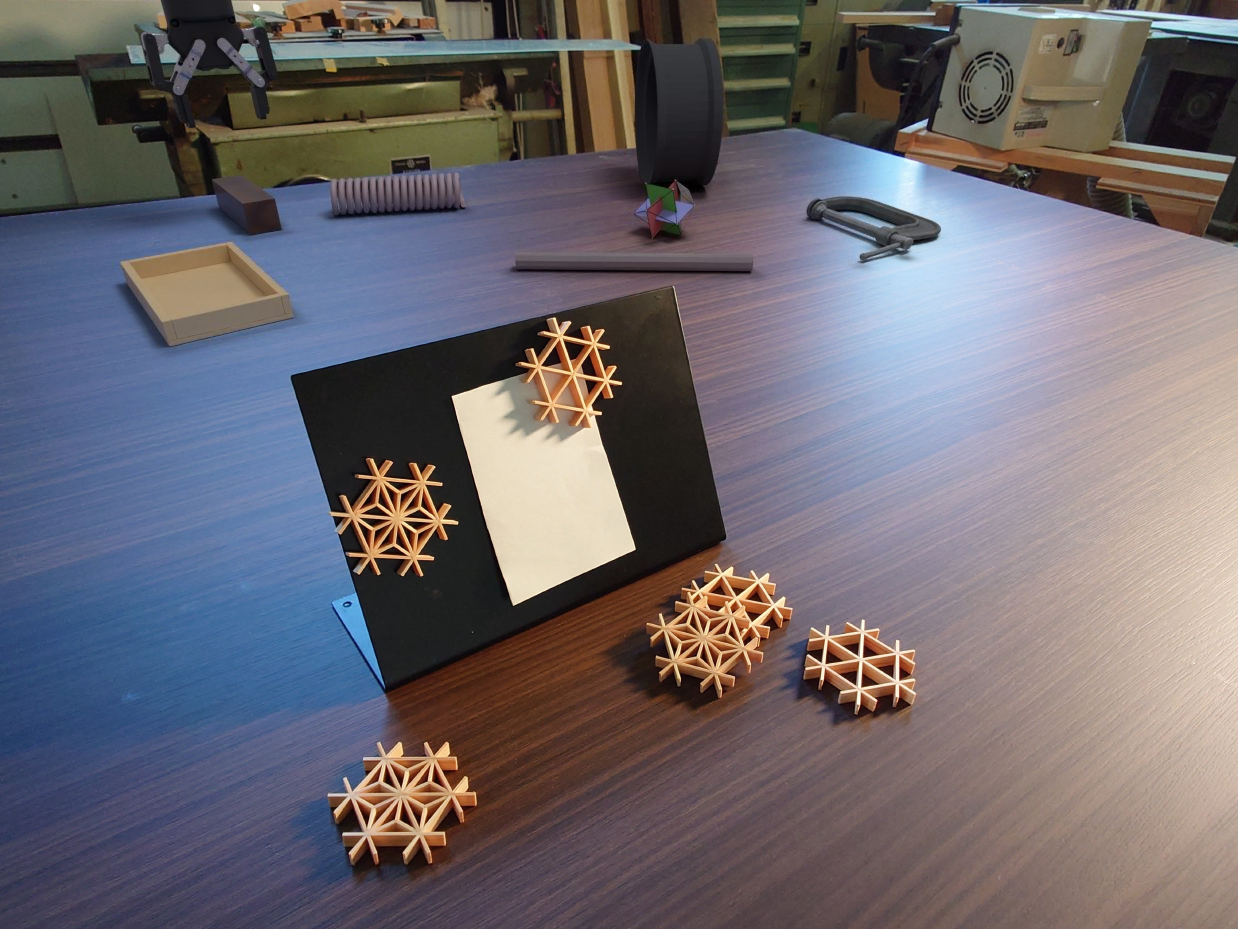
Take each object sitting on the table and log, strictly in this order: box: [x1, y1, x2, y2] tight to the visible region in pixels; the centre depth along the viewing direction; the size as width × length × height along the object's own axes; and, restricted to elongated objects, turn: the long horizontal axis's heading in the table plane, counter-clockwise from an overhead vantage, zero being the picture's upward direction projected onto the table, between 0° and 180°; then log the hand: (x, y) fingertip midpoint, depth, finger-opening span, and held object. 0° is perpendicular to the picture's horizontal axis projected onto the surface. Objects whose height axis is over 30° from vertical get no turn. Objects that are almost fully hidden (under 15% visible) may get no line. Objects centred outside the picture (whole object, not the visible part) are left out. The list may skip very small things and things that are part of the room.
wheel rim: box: [634, 37, 724, 187], centre depth 119 cm, size 20×9×20 cm, turn 8°
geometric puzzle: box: [632, 180, 696, 240], centre depth 102 cm, size 7×7×8 cm
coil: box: [329, 172, 468, 216], centre depth 110 cm, size 5×5×18 cm
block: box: [211, 174, 283, 236], centre depth 107 cm, size 4×14×4 cm, turn 37°
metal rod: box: [514, 251, 754, 272], centre depth 93 cm, size 2×27×2 cm, turn 91°
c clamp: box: [805, 195, 942, 262], centre depth 106 cm, size 20×17×3 cm
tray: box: [119, 241, 295, 347], centre depth 84 cm, size 12×20×2 cm, turn 37°
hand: (227, 122), depth 101 cm, fingers open, 8 cm apart
